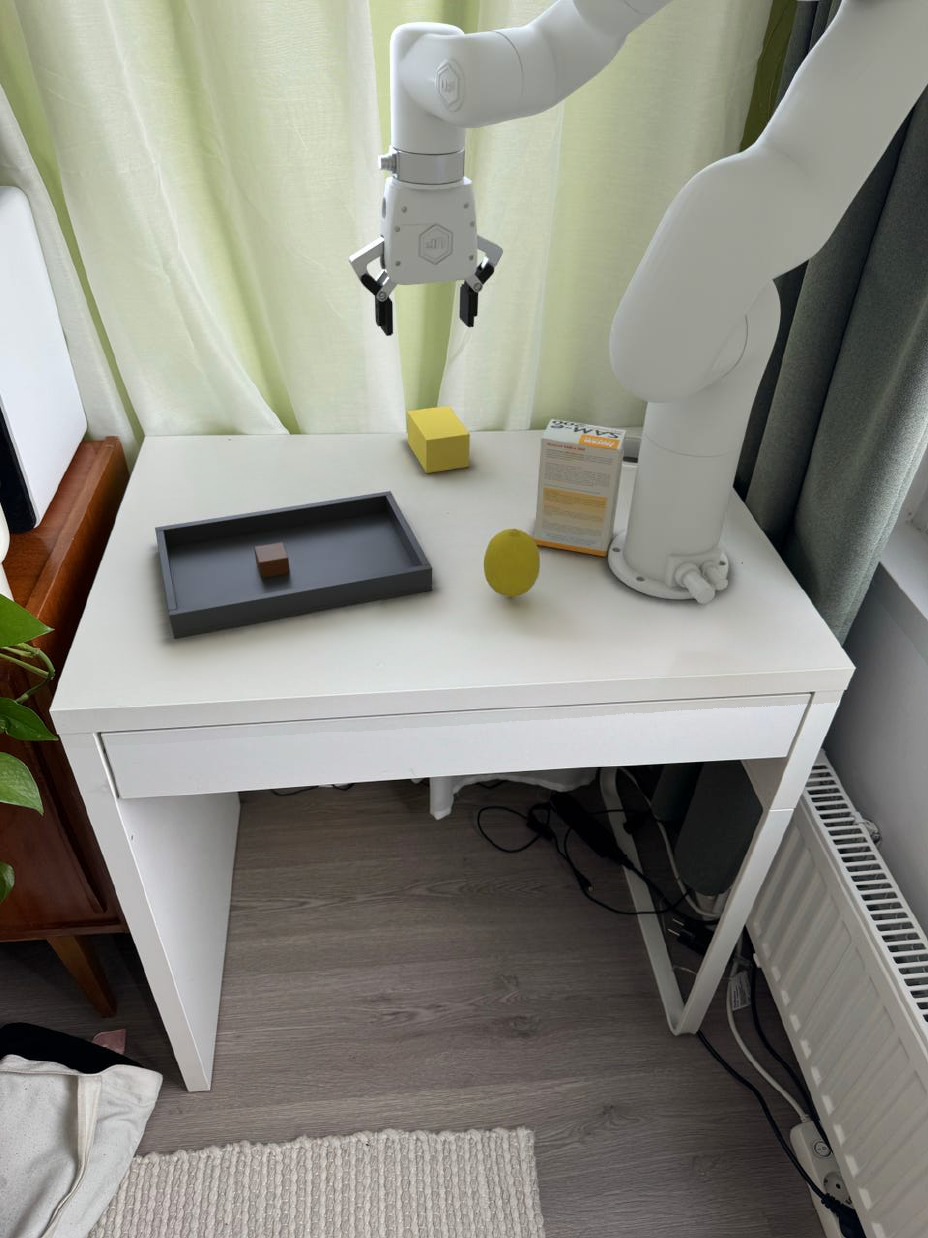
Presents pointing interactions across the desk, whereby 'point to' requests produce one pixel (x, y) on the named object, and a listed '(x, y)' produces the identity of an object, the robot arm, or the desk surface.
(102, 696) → the desk surface
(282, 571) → the brown block
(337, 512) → the pan
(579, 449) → the supplement box
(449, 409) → the sponge
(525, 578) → the lemon
